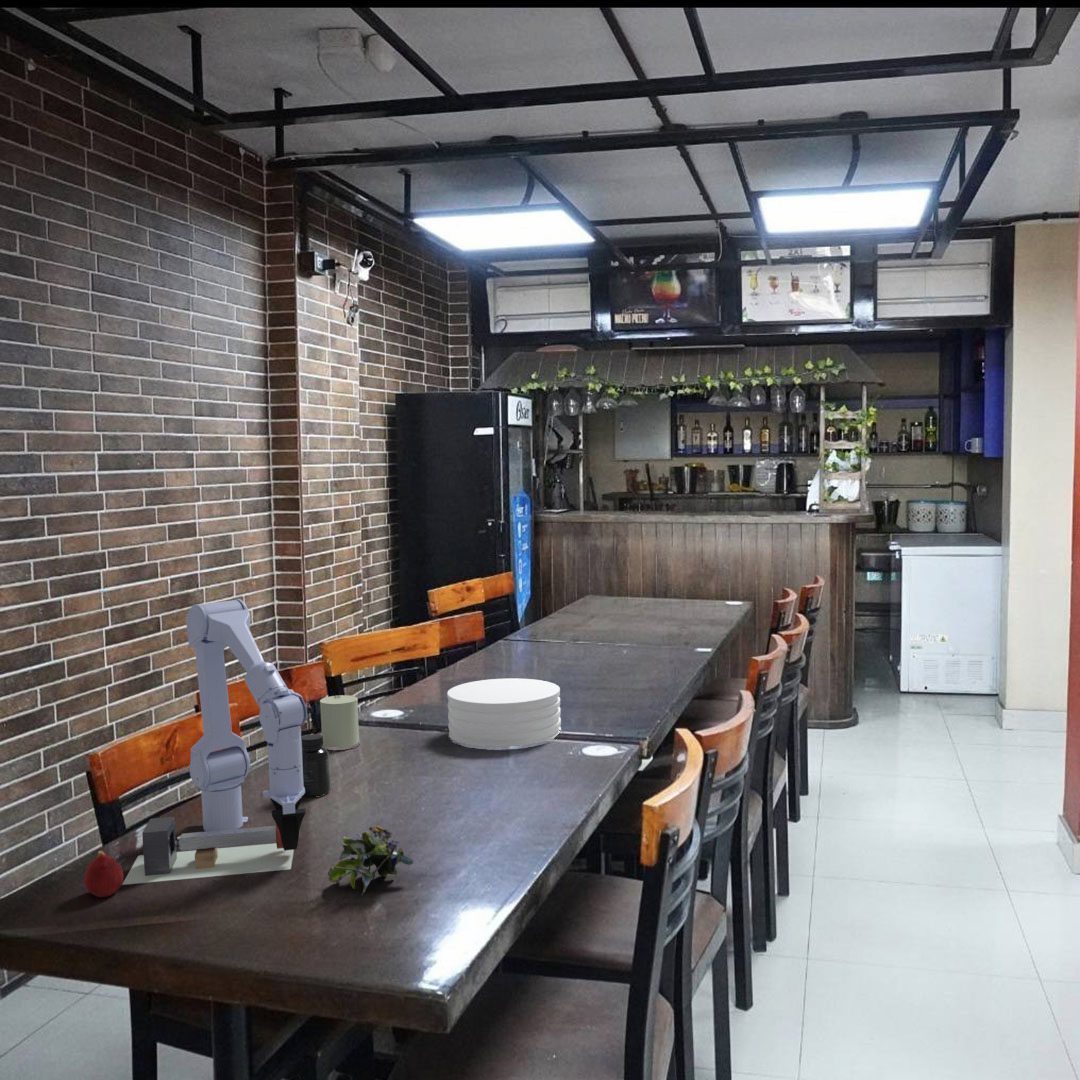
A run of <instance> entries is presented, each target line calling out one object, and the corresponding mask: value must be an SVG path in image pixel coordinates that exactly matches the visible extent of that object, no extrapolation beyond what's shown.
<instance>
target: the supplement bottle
mask: <svg viewBox="0 0 1080 1080" xmlns="http://www.w3.org/2000/svg"><path fill="white" fill-rule="evenodd" d="M301 743H302V764H303V785H304V788H305V793H304V795H303V797H302V798H304V797H315V798H317V797H316V796H321V795H323V794H326V793H328V792H329V791H331V775H330V773H331V771H330V770H331V769H330V753H329V751H328V750H327V749H325V748H324V747H322V746H323V745H324V742H323V736H322V734H316V733H312V734H310V733H309V734H304V735H301ZM329 793H330V792H329ZM329 793H328V794H329ZM326 795H327V794H326ZM321 797H322V796H321Z"/></svg>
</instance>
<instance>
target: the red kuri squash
mask: <svg viewBox="0 0 1080 1080" xmlns="http://www.w3.org/2000/svg"><path fill="white" fill-rule="evenodd" d="M83 881H84V882H83V883H84V886H85V889H86V890H87V891H88V892H89V893H90V894H91V895H94V896H95V897H97V898H108V897H111V896H112V895H114V894H115V893H116V892H117V891H118V890H119V889H120V888H121V886H122V884H123V882H124V871H123V868H122V865H121V864H120V863H119V862H118V861H117V860H116V859H115V858H114V857H112V856H110V855H108V854H106V853H105V852H104V851H103V850H99V851H98V854H97V857H96V858H94V859H93V860H92V861H91V862H90V863H89V865H88V866H87V867H86V869H85V873H84V878H83Z"/></svg>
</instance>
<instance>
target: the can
mask: <svg viewBox="0 0 1080 1080" xmlns="http://www.w3.org/2000/svg"><path fill="white" fill-rule="evenodd" d="M358 701H359V700H358V697H357V696H355V695H350V694H349V695H348V694H347V695H345V694H344V695H343V694H341V695H331V696H327V697H324V698H321V699H320V700H319V706H320V722H321V723H320V724H321V727H320V728H321V735H322V736H323V742H324V746H327V747H328V746H329V747H346V746H352V745H355V744H357V743H358V742H360V733H359V731H360V730H359V729H360V728H359V710H358V709H359V707H358V706H359V704H358Z"/></svg>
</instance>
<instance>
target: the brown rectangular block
mask: <svg viewBox="0 0 1080 1080" xmlns="http://www.w3.org/2000/svg"><path fill="white" fill-rule="evenodd" d="M217 849H218V847H217V848H206V849H195V850H196V853H195V869H201V868H212V867H214V866H215V863H216V860H217V857H218V853H217Z"/></svg>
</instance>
